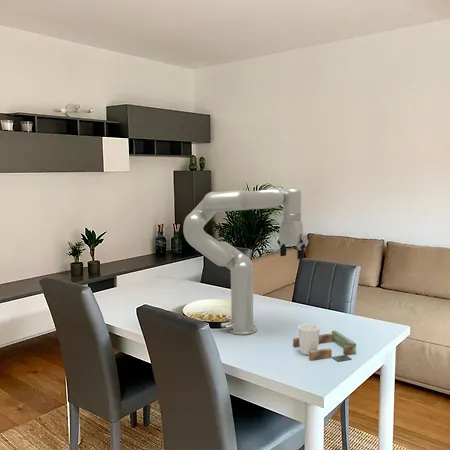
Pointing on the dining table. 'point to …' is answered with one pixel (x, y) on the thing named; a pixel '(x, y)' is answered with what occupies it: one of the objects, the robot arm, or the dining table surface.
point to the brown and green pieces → (336, 337)
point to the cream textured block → (308, 338)
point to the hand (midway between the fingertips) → (291, 257)
